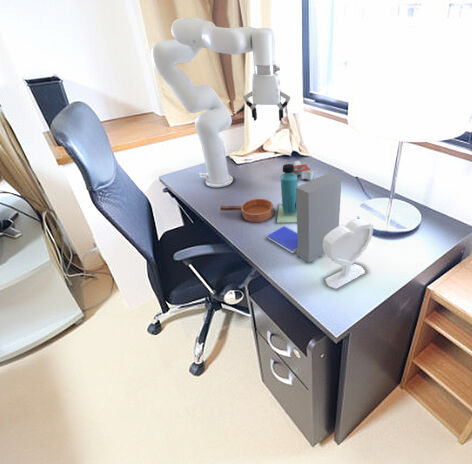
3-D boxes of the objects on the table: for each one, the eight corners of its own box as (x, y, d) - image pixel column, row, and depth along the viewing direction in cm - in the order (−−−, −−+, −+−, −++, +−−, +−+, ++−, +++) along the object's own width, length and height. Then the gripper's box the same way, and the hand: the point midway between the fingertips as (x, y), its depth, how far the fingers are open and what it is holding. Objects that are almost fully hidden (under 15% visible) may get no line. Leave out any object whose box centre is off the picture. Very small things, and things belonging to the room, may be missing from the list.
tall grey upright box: (325, 237, 112) (327, 171, 98) (338, 245, 109) (342, 178, 94) (296, 254, 105) (293, 186, 90) (308, 263, 101) (308, 193, 87)
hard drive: (309, 239, 109) (284, 225, 116) (292, 250, 104) (267, 235, 111) (309, 242, 110) (284, 229, 117) (292, 253, 105) (267, 239, 112)
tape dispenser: (297, 167, 166) (273, 179, 152) (297, 157, 163) (272, 168, 149) (326, 173, 157) (303, 186, 143) (326, 163, 154) (303, 175, 140)
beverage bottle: (297, 218, 122) (295, 169, 111) (280, 216, 124) (277, 168, 112) (300, 209, 128) (299, 162, 116) (284, 208, 129) (281, 161, 117)
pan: (240, 222, 121) (238, 214, 119) (245, 206, 131) (244, 198, 129) (271, 222, 121) (271, 214, 119) (274, 206, 131) (274, 198, 129)
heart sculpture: (330, 291, 91) (333, 241, 80) (320, 281, 94) (320, 232, 84) (369, 270, 98) (376, 221, 88) (358, 261, 101) (363, 213, 91)
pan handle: (220, 210, 124) (220, 207, 124) (221, 208, 126) (221, 205, 125) (242, 210, 124) (241, 207, 124) (242, 208, 126) (242, 205, 125)
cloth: (276, 222, 121) (276, 222, 120) (279, 205, 131) (279, 204, 131) (303, 222, 120) (303, 222, 120) (303, 205, 131) (303, 204, 131)
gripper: (290, 68, 114) (291, 117, 124) (242, 68, 115) (247, 116, 125) (288, 72, 108) (289, 123, 118) (238, 71, 109) (243, 122, 119)
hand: (268, 119), depth 122 cm, fingers open, 9 cm apart
